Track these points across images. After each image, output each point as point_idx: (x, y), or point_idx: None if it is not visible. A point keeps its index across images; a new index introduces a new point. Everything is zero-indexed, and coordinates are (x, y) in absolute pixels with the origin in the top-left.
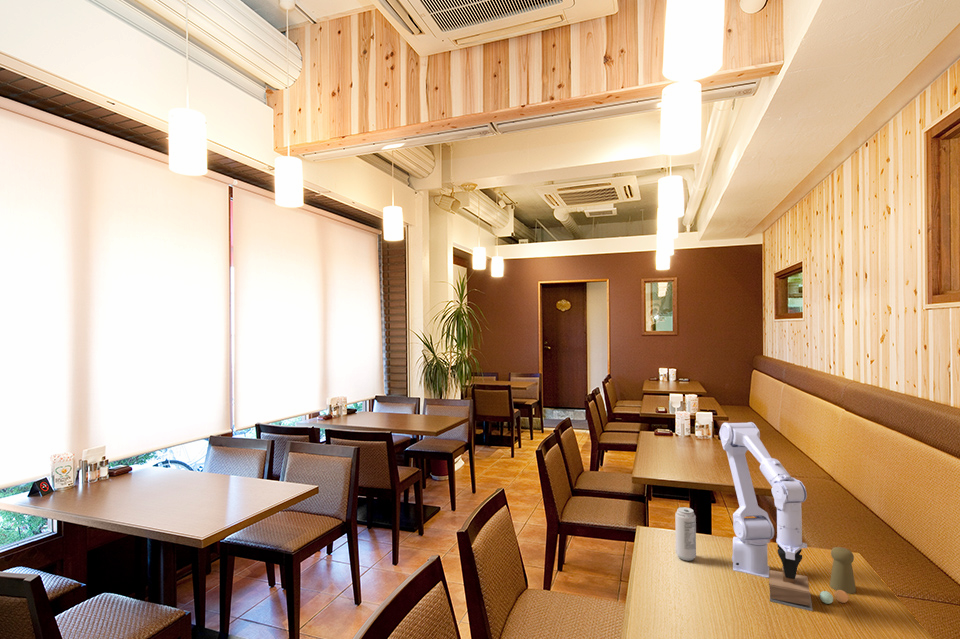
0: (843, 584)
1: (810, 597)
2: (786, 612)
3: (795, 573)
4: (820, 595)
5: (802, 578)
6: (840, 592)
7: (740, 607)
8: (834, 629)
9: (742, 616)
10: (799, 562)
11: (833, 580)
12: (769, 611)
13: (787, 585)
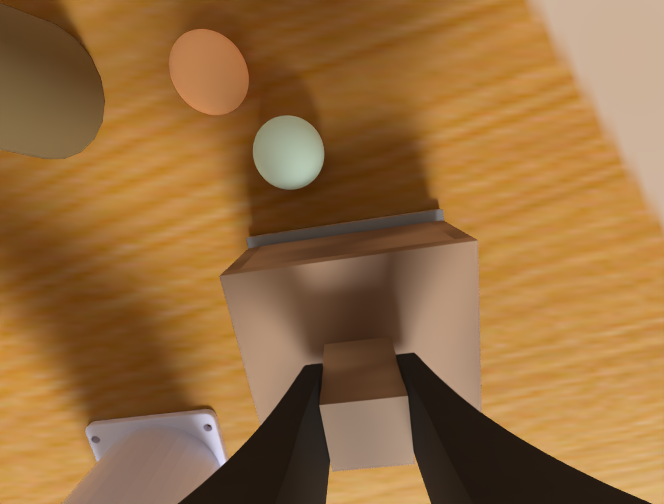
0: (50, 65)
1: (307, 230)
2: (521, 307)
3: (437, 379)
4: (308, 182)
5: (278, 300)
6: (217, 66)
7: (582, 461)
8: (575, 95)
9: (659, 445)
10: (588, 475)
11: (40, 129)
12: (553, 367)
13: (447, 365)
